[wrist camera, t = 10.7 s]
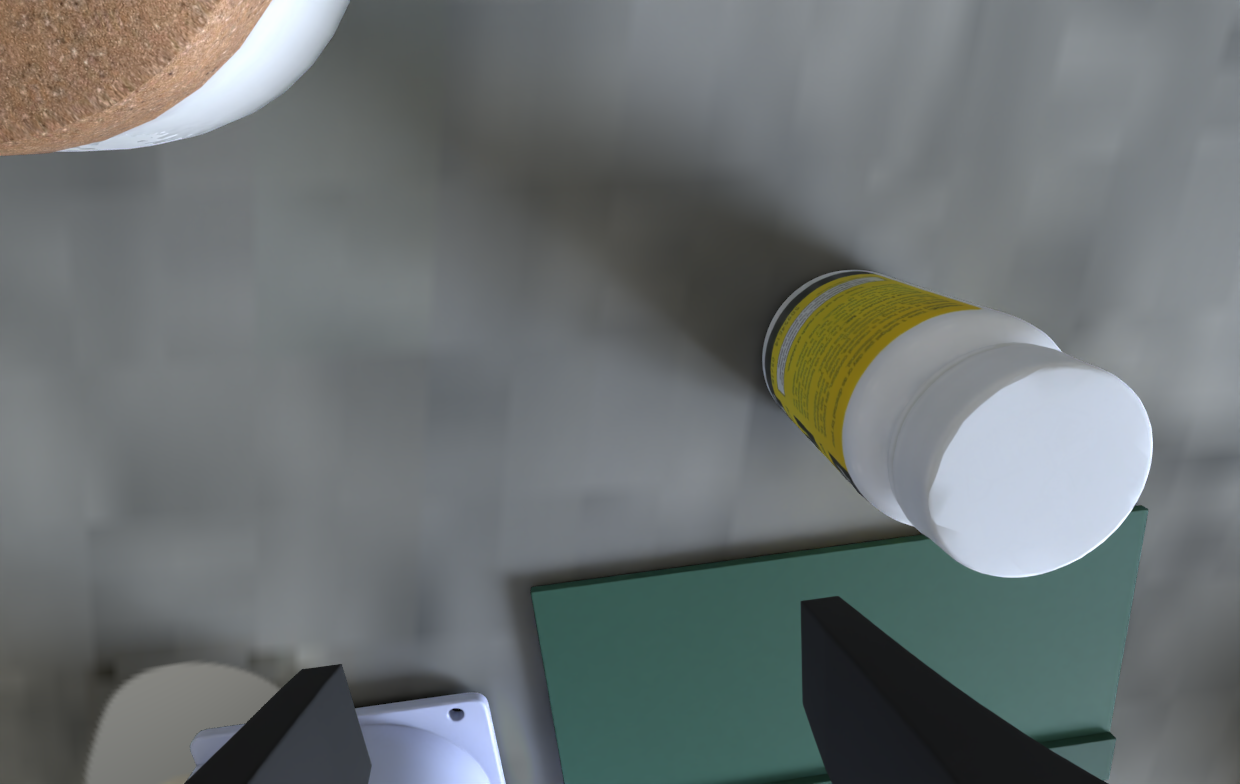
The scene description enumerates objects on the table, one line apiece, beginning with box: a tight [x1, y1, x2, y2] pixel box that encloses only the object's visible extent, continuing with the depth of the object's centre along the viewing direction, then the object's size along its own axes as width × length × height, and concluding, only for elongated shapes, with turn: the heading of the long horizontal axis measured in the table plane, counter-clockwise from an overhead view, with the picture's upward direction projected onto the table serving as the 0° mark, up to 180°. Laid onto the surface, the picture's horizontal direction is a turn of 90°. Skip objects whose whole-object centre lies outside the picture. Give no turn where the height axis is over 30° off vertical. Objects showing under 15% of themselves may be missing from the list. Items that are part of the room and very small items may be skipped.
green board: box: [531, 505, 1148, 784], centre depth 22 cm, size 20×12×1 cm, turn 96°
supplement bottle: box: [762, 270, 1153, 578], centre depth 15 cm, size 5×5×8 cm
